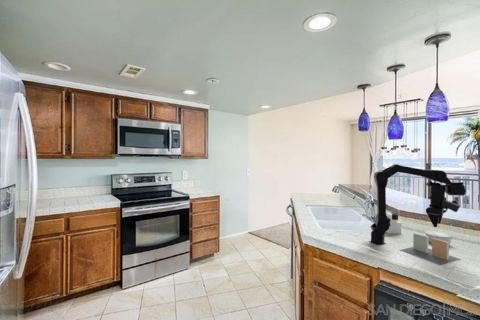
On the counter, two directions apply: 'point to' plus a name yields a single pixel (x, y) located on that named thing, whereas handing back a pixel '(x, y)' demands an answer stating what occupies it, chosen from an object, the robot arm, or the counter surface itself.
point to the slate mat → (429, 256)
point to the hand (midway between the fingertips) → (437, 225)
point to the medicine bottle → (394, 224)
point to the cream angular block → (440, 248)
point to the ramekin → (438, 236)
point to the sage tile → (420, 242)
